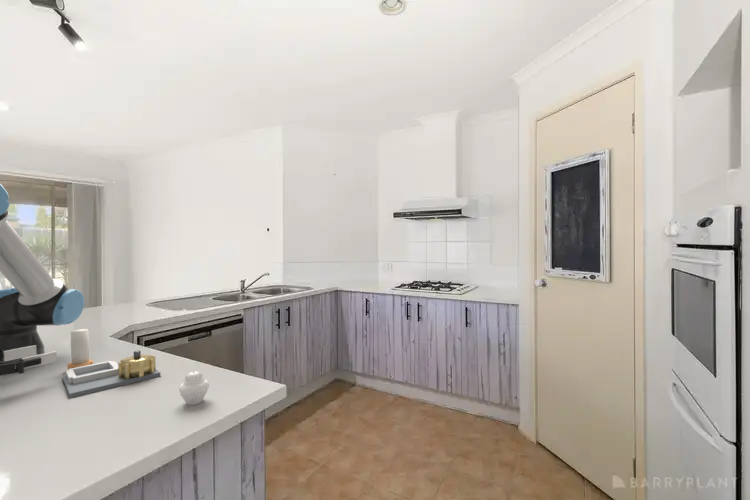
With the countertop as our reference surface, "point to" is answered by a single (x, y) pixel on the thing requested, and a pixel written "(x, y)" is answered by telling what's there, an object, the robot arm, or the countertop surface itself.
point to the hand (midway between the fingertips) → (45, 353)
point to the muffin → (194, 388)
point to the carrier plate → (97, 378)
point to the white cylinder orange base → (79, 349)
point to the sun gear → (136, 365)
